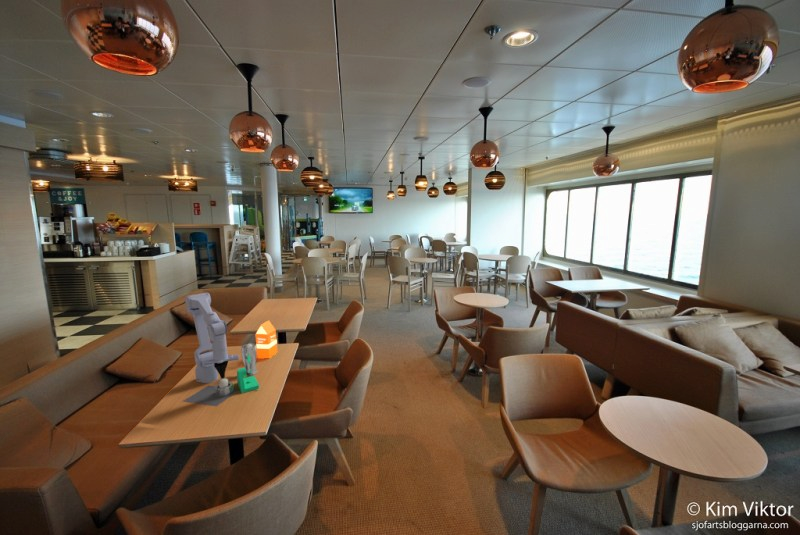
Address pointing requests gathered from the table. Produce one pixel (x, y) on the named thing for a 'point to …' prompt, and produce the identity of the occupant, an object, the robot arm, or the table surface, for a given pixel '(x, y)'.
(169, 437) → the table surface
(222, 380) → the plug cap
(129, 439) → the table surface
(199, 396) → the mat
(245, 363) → the beer glass
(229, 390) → the sleeve
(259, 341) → the orange juice
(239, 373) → the camera mount
